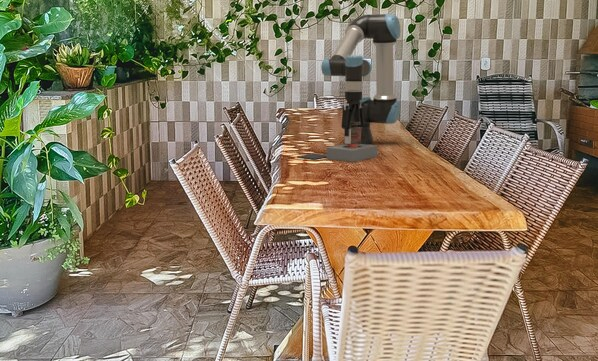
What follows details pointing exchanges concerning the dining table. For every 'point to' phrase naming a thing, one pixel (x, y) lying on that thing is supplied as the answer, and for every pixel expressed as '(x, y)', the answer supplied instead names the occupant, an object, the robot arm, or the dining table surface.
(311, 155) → the mat
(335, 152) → the button panel
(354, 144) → the red dome button
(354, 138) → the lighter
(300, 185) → the dining table surface
